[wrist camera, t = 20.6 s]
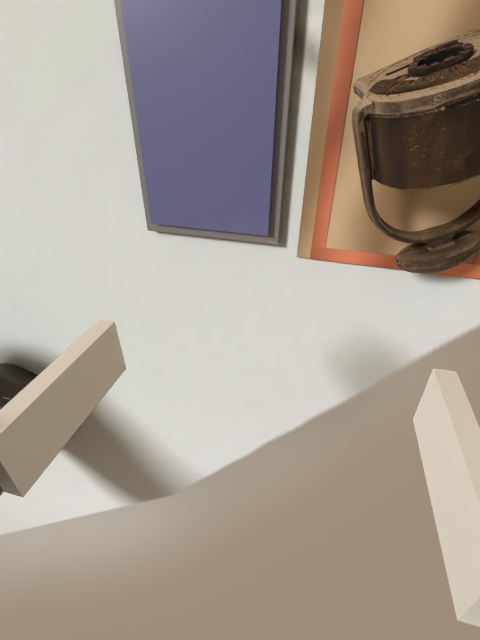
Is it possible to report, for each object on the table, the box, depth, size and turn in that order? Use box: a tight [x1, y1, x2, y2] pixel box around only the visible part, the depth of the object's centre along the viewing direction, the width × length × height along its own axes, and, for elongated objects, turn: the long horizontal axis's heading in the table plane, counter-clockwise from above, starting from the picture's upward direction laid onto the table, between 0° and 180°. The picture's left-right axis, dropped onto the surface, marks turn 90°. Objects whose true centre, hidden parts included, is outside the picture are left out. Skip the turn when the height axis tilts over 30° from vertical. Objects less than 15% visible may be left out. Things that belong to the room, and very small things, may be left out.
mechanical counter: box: [352, 29, 480, 273], centre depth 18 cm, size 7×13×10 cm
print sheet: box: [297, 0, 480, 279], centre depth 20 cm, size 14×18×1 cm
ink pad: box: [114, 0, 298, 245], centre depth 23 cm, size 11×16×1 cm
